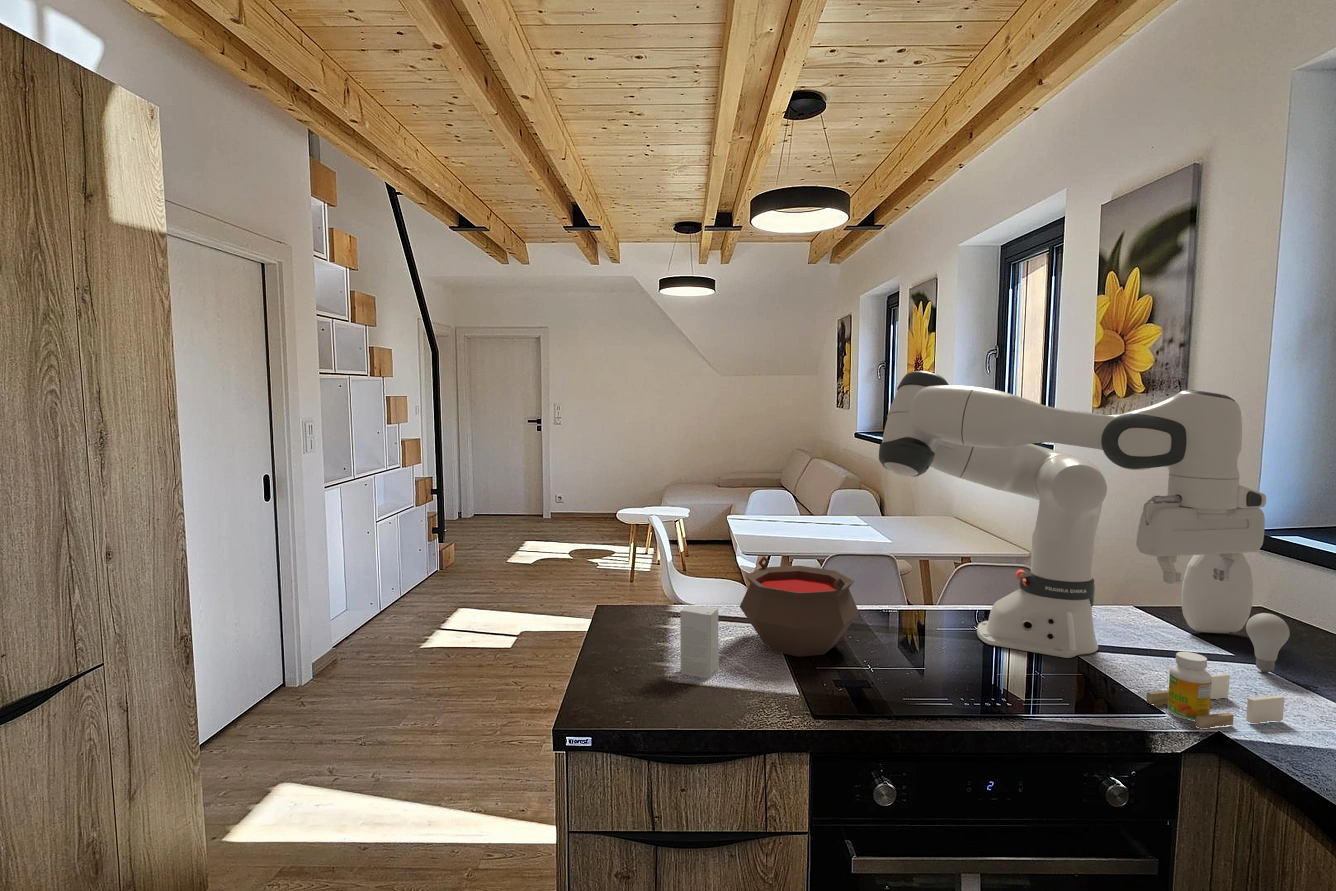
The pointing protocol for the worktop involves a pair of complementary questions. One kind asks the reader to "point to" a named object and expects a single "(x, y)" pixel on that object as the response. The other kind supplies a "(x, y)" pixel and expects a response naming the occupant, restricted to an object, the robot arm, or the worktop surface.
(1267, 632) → the lightbulb
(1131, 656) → the worktop surface
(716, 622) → the skincare box
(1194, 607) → the soap bottle
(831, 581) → the brown pot
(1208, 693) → the supplement bottle
